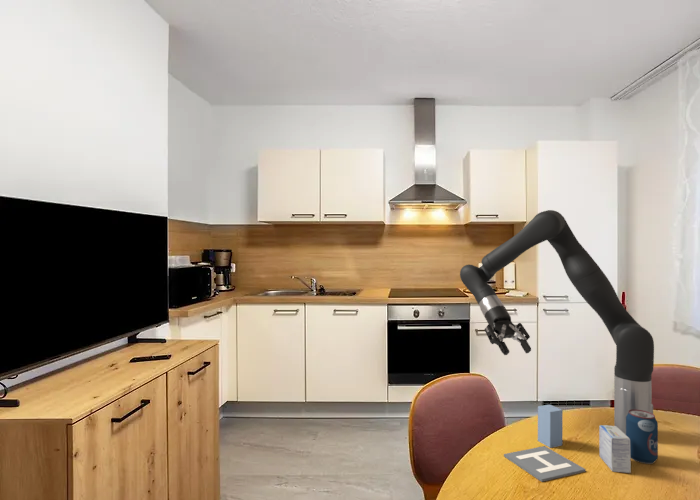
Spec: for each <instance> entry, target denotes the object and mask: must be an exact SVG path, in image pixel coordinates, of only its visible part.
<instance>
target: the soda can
mask: <svg viewBox="0 0 700 500" xmlns="http://www.w3.org/2000/svg"><path fill="white" fill-rule="evenodd" d="M658 428H659V422H658V421H657V419H656V416H655V414H654V413H653V414H652V413H650V412H647V411H643V410H637V409H632V410H629V413H628V414H627V416H626V436H627V437H628V438H629V439H630V456H631V460H633V461H635V462H638V463H640V464H645V465H653V464H655V462H656V461H657V460H658V458H659V457H658V456H659V451H658V450H659V446H658V445H659V439H658V438H659V432H658V431H659V429H658Z"/></svg>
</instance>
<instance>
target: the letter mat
mask: <svg viewBox="0 0 700 500" xmlns="http://www.w3.org/2000/svg"><path fill="white" fill-rule="evenodd" d="M503 457H504V458H506V459H507V460H508V461H510V462H512V464H515V465H516V466H517V467H518V468H520V469H522V470H523V471H525V472H527V473H528V474H529V475H531V476H532V477H534V478H535V479H536V480H538V481H539V482H541V483H544V482H547V481H551V480H552V481H553V480H557V479H560V478H564V477H568V476H573V475H576V474H577V475H578V474H580V473H585V472H586V471H587V470H586V468H584V467H583V466H580V465H579V464H577V463H576V462H574V461H572V460H570V459H568V458H567V457H564V456H563V455H562V454H560V453H557V452H556V451H554V450H552V449H551V448H550V447H548V446H546V445H544V446H543V445H542V446H538V447H533V448H528V449H522V450H519V451H518V450H517V451H513V452H508V453H503Z"/></svg>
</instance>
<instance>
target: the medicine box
mask: <svg viewBox="0 0 700 500" xmlns="http://www.w3.org/2000/svg"><path fill="white" fill-rule="evenodd" d="M598 429H599V434H598V436H599V437H598V439H599V442H598V443H599V445H598V446H599V449H598V450H599V458H600V459H601V460H602V461H603V462H604V463H605V464H606V466H607V467H608V468H609V469H610V471H611V472H614V473H625V474H626V473H627V474H631V473H632V472H631V471H632V470H631V467H632V466H631V460H632V459H631V456H630V439H629V438H628V437H627V436H626V435H625V434H624V433H623V432H622V431H621V430H620V429H619V428H618V427H617V426H614V425H605V424H603V425H602V424H601V425H599V428H598Z"/></svg>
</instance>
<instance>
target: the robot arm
mask: <svg viewBox="0 0 700 500" xmlns="http://www.w3.org/2000/svg"><path fill="white" fill-rule="evenodd" d="M546 241H547V242H548V243H549V245H551V246H552V248H553V249H554V250H555V252H556V253H557V254H558V257H559V258H560V259H559V260H560V261H561V264H562V267H563V269H564V272H565V274H566V276H567V277H568V280H569V281H570V282H571V284H572V285H573V287H574V288H575V290H576V291H577V292H578V293H579V295H580V296H581V297H582V298H583V300H584V301H585V302H586V303H587V304H588V305H589V306H590V307H591V308H592V310H594V311H595V313H596V314H597V315H598V316H599V318H600V319H601V320H602V322H603V325H604V326H605V327H606V329H607V331H608V333H609V334H610V336H611V339H612V340H613V342H614V344H615V345H616V350H615V351H616V354H615V355H616V356H615V357H616V358H615V360H616V361H615V364H614V373H613V374H614V375H613V376H614V383H613V384H614V386H613V387H614V389H613V390H614V392H613V393H614V395H613V397H614V400H613V401H614V406H613V407H614V409H613V410H614V417H613V419H614V422H613V424H614V425H613V426H617V427H618V428H619V429H620V430H621V431H622V432H623V433H624V434H625V435H626V416H627V414H628V413H629V410H632V409H637V410H643V411H647V412H650V413H652V414H654V404H653V402H652V401H653V400H652V391H653V390H652V377H653V375H652V374H653V372H654V368H655V367H654V362H655V361H654V359H655V343H654V337H653V336H652V334H651V333H650V332H649V331H648V330H647V329H646V328H644V326H642V325H641V324H639V322H637V321H636V320H635V319H634V318H633V316H632V315H631V313H630V312H629V311H627V309H626V307H624V305H623V304H622V302H621V300H620V299H619V296H618V295H617V292H616V291H615V288H614V287H613V285H612V283H611V282H610V280H609V278H608V276H606V274H605V273H604V271H603V270H602V269H601V267H600V266H599V265H598V264H597V262H596V261H595V259H594V258H592V256H591V254H589V252H588V251H587V250H586V249H585V248H584V246H583V245H582V244H581V243H580V242H579V241H578V239H577V237H576V236H575V234H574V233H573V231H572V229H571V227H570V226H569V224H568V222H567V220H566V218H565V217H564V216H563V215H562V214H561V213H560V212H559V211H557V210H553V209H549V210H548V209H547V210H544V211H541V212H539V213H537V214H536V215H534V217H533V218H532V219H531V220H530V221H529V222H528V223H527V224H526V225H525V226H524V227H523V228H522V229H521V230H520V231H518V232H517V233H516V234H515V235H514V236H512V237H511V238H509V239H508V240H506V241H505V242H503V243H501V244H500V245H498V246H497V247H496V248H494V249H493V250H491V251H490V252H489V253H487V254H486V255H484V256H483V257H482V259H481V266H479V267H478V266H476V265H473V264H466V265H463V267H461V269H460V271H459V276H460V281H461V282H462V284H463V285H464V286H465V287H466V288H467V290H468V291H469V292H470V293H471V294H472V296H473V297H474V298H475V300H476V303H477V305H478V307H479V309H480V311H481V313H482V315H483V317H484V320H486V322H487V325H486V326H485V328H484V330H483V331H484V332H485V334H486V336H487V338H488V340H489V342H490V344H491V345H494V344H495V345H496V346H497V347H498V349H499V350H500V351H501V353H502V354H503V355H504V356H507V355H509V354H510V349H509V348H508V346H507V344H506V342H505V341H504V340H505V339H512V340H514V341H517V342H519V344H520V346H521V348H522V350H523V351H524V352H525V354H529V353H530V352H531V351H532V347H531V345H530V344H529V342H528V340H529V339H530V338H531V335H530V334H529V333H528V332H527V330H526V328H525V327H524V325H523V323H521V322H518V323H517V324H514V323H513V321H512V317H511V315H510V313H509V312H508V310H507V309H506V306H505V305H504V303H503V302H502V300H501V299H500V298H499V297H498V295H497V293H496V291H495V290H494V288H493V286H491V285H490V284H489V283H488V282H490V280H491V279H492V278H493V277H494V276H495V275H496V274H497V272H499V271H500V270H502V269H503V268H505V267H507V266H508V265H510V264H511V263H512V262H514V261H515V260H516V259H517V258H519V257H520V256H521V255H522V254H524V253H525V252H526V251H527V250H529V249H531V248H533V247H535V246H537V245H539V244H541V243H543V242H546ZM515 334H516V335H515Z"/></svg>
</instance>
